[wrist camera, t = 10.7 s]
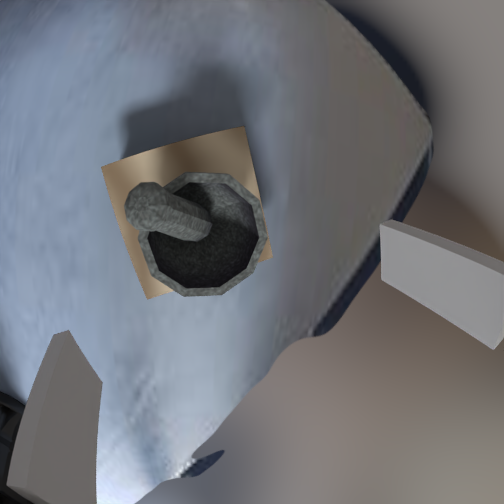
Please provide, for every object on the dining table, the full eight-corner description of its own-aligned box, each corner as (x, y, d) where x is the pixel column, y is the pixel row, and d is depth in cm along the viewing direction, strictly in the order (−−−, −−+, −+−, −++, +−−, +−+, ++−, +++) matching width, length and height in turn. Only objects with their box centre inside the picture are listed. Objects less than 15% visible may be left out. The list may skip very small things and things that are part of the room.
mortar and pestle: (261, 211, 29) (323, 245, 18) (204, 283, 29) (233, 354, 19) (173, 139, 24) (183, 122, 13) (113, 220, 25) (81, 264, 14)
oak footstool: (148, 277, 33) (147, 299, 28) (111, 165, 28) (101, 166, 23) (255, 242, 36) (272, 257, 31) (229, 131, 31) (244, 125, 26)
